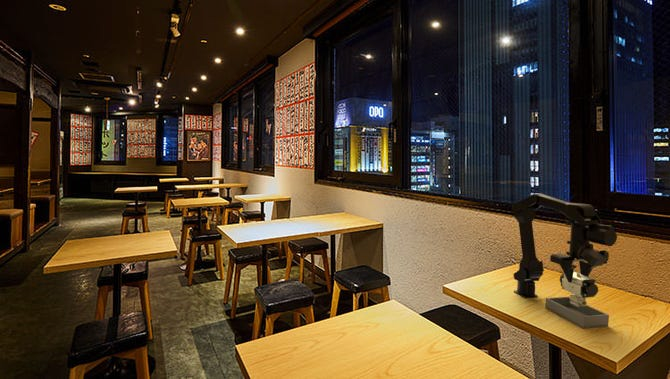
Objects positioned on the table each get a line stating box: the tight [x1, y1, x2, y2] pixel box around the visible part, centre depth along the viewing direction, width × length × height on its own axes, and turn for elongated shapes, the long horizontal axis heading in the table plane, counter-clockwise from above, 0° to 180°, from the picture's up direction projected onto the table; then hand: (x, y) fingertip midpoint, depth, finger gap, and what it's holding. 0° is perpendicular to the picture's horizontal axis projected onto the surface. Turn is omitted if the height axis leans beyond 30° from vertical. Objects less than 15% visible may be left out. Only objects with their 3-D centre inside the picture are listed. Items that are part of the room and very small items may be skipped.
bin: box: [544, 296, 610, 329], centre depth 124 cm, size 16×10×4 cm, turn 11°
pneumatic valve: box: [559, 271, 599, 307], centre depth 123 cm, size 6×12×12 cm, turn 10°
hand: (576, 282), depth 123 cm, fingers closed on pneumatic valve, 5 cm apart
